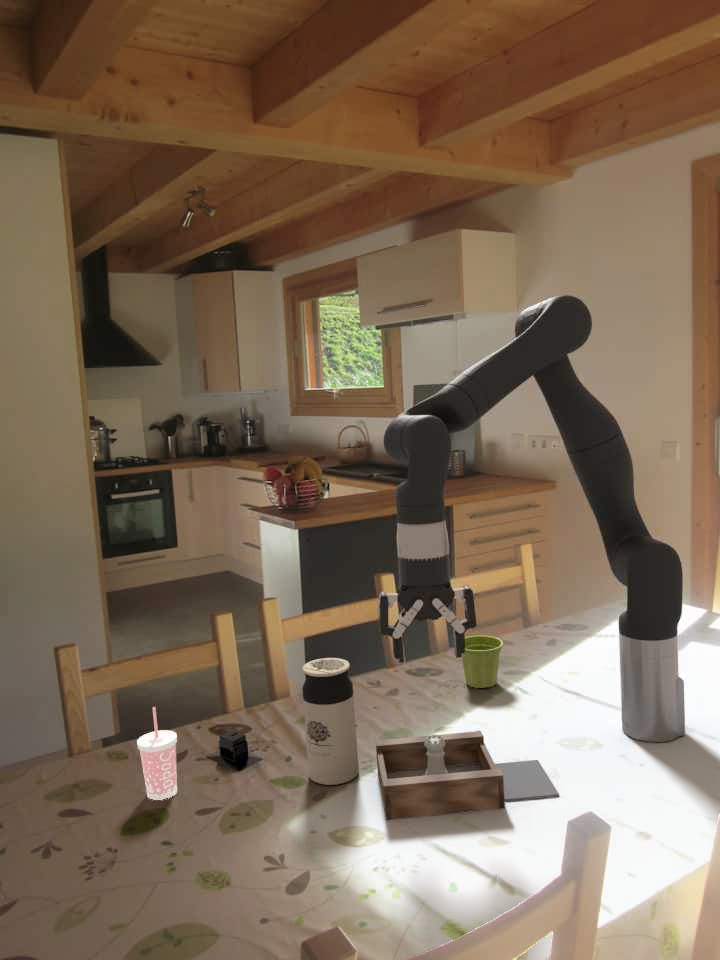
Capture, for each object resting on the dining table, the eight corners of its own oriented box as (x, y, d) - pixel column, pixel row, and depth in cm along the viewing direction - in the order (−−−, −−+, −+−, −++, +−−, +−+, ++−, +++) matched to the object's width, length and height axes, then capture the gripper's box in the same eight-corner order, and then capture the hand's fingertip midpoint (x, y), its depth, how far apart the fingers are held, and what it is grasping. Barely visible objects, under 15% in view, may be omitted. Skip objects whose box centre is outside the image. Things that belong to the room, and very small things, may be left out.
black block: (274, 762, 131) (272, 736, 131) (240, 780, 126) (237, 753, 126) (228, 744, 140) (226, 719, 139) (194, 759, 135) (192, 734, 134)
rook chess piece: (451, 796, 115) (448, 744, 115) (421, 795, 116) (417, 744, 116) (453, 781, 120) (450, 731, 119) (424, 780, 121) (421, 731, 120)
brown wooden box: (482, 760, 126) (480, 731, 125) (505, 808, 111) (503, 775, 111) (377, 770, 125) (375, 740, 125) (386, 820, 110) (383, 786, 110)
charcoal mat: (537, 761, 124) (537, 759, 124) (559, 796, 113) (559, 794, 113) (488, 766, 124) (488, 764, 124) (505, 801, 113) (504, 799, 113)
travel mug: (335, 758, 130) (327, 653, 128) (369, 772, 125) (361, 663, 123) (298, 776, 125) (290, 667, 123) (332, 792, 119) (324, 678, 117)
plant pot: (512, 679, 161) (510, 638, 160) (494, 695, 153) (492, 652, 152) (470, 673, 166) (468, 633, 165) (450, 688, 158) (448, 647, 157)
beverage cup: (146, 807, 118) (138, 718, 117) (138, 790, 124) (129, 705, 122) (186, 795, 121) (178, 708, 120) (176, 779, 126) (168, 696, 125)
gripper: (466, 543, 119) (471, 647, 120) (373, 550, 118) (379, 654, 120) (476, 552, 111) (481, 663, 113) (376, 560, 110) (383, 671, 112)
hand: (429, 658), depth 116 cm, fingers open, 8 cm apart
